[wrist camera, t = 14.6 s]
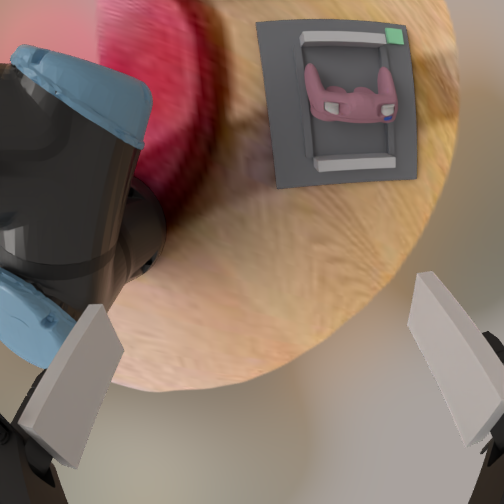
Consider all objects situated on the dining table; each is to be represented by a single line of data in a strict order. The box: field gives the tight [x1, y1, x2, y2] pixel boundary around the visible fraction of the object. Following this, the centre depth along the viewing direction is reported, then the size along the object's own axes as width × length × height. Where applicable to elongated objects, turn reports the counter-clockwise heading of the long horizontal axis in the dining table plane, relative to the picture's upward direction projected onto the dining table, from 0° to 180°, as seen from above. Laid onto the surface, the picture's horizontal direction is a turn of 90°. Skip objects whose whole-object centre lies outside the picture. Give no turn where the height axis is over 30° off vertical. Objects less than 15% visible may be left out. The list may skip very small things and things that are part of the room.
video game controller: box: [304, 63, 398, 123], centre depth 27 cm, size 10×5×7 cm
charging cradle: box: [256, 19, 417, 189], centre depth 30 cm, size 18×20×4 cm
